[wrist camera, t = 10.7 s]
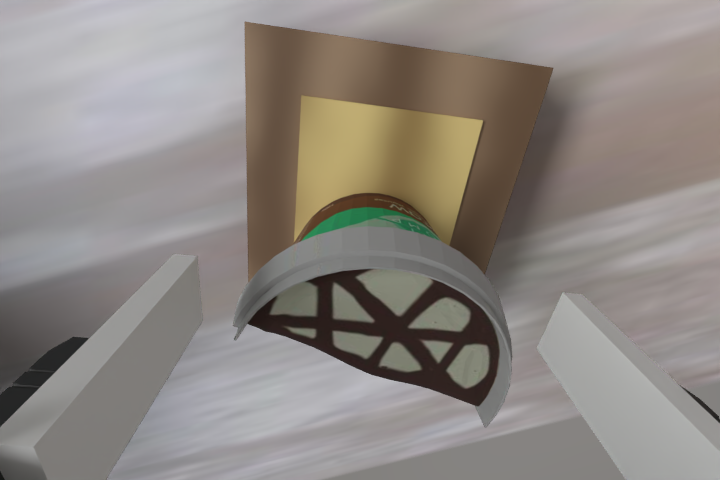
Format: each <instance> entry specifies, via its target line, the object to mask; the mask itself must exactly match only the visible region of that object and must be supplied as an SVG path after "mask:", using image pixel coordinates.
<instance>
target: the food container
mask: <svg viewBox="0 0 720 480" xmlns="http://www.w3.org/2000/svg"><path fill="white" fill-rule="evenodd" d="M246 324H249V325H252V326H255V327H257V328H260V329H262V330H264V331H266V332H271V333H276V334H279V335H282V336H286V337H288V338H291V339H294V340H296V341H299V342H301V343H304V344H307V345H309V346H312V347H314V348H316V349H319V350H321V351H323V352H325V353H327V354H329V355H331V356H333V357H335V358H337V359H339V360H341V361H343V362H345V363H347V364H349V365H351V366H353V367H355V368H357V369H360V370H362V371H364V372H366V373H369V374H371V375H374V376H379V377H382V378H386V379H390V380H394V381H399V382H404V383H409V384H413V385H417V386H421V387H425V388H429V389H431V390H434V391H437V392H440V393H443V394H445V395H448V396H451V397H454V398H456V399H459V400H462V401H464V402H467V403H470V404H472V405H475V407H476V409H477V411H478V414H479V416H480V418H481V420H482V422H483V425H484V427H487V426H488V425H489V423H490V422H491V421H492V420H493V419H494V417H495V416H496V415H497V413H498V411H499V410H500V408H501V406H502V404H503V403H504V401H505V398H506V395H507V392H508V389H509V387H510V380H511V372H512V367H511V361H512V348H511V338H510V335H509V331H508V327H507V323H506V320H505V316H504V312H503V309H502V306H501V303H500V299H499V297H498V295H497V293H496V291H495V290H494V288H493V286H492V284H491V282H490V281H489V279H488V278H487V277H486V276H485V275H484V274H483V272H482V271H481V270H480V269H479V268H478V266H477V265H475V264H474V263H473V262H472V261H471V260H469V259H468V258H467V257H466V256H464V255H463V254H462V253H461V252H459V251H457V250H456V249H454V248H452V247H450V246H449V245H447V244H445V243H443V242H442V241H441V240H440V238H439V237H438V236H437V234H436V233H435V232H434V230H433V229H432V227H431V226H430V225H429V223H428V222H427V220H426V219H425V218H424V217H423V216H422V215H421V214H420V213H419V212H418V211H417V210H416V209H415V208H413V207H412V206H411V205H409V204H408V203H406V202H404V201H403V200H401V199H398V198H395V197H393V196H390V195H385V194H380V193H359V194H353V195H349V196H345V197H342V198H340V199H337V200H335V201H333V202H331V203H329V204H328V205H326V206H325V207H323V208H322V209H320V210H319V211H318V212H317V213H316V214H315V215H314V216H313V217H312V218H311V219H310V220H309V221H308V223H307V224H306V225H305V227H304V228H303V230H302V231H301V233H300V234H299V236H298V237H297V239H296V240H295V242H294V243H293V245H292V246H291V247H289V248H287V249H286V250H284V251H282V252H281V253H279V254H278V255H276V256H274V257H273V258H272V259H271V260H270V261H269V262H268V263H266V264H265V265H264V266H263V267H262V268H261V269H259V270H258V272H257V273H256V274H255V275H254V277H253V278H252V279H251V280H250V282H249V283H248V284H247V285H246V287H245V288H244V290H243V292H242V294H241V296H240V298H239V300H238V302H237V306H236V312H235V317H234V322H233V326H235V327H238V330H237V333H236V336H235V338H234V340H237V338H238V337H239V335H240V334H241V332H242V331H243V329H244V327H245V326H246Z"/></svg>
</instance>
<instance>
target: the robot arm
mask: <svg viewBox="0 0 720 480" xmlns="http://www.w3.org/2000/svg"><path fill="white" fill-rule="evenodd" d="M202 321H203V316H202V304H201V292H200V281H199V269H198V257H197V256H192V255H182V254H173V255H172V256H171V257H170V258H169V259H168V260H167V261H166V262H165V263H164V264H163V265H162V266H161V267H160V268H159V269H158V270H157V271H156V272H155V273H154V274H153V275H152V276H151V277H150V278H149V279H148V280H147V281H146V282H145V283H144V284H143V285H142V286H141V287H140V288H139V289H138V290H137V291H136V292H135V293H134V294H133V295H132V296H131V297H130V298H129V299H128V300H127V301H126V302H125V303H124V304H123V305H122V306H121V307H120V308H119V309H118V310H117V311H116V312H115V313H114V314H113V315H112V316H111V317H110V318H109V319H108V320H107V321H106V322H105V323H104V324H103V325H102V326H101V327H100V328H99V329H98V330H97V331H96V332H95V333H94V334H93V335H92V336H91V337H90V338H81V337H73V338H71V339H69V340H67V341H65V342H64V343H62V344H60V345H58V346H57V347H55V348H53V349H51V350H50V351H48V352H47V353H46V354H45V355H44V356H43V357H42V358H40V359H39V360H38V361H37V362H36V363H35V364H34V365H33V366H32V367H31V368H30V370H29V372H25V373H24V374H23V375H22V376H21V377H19V378H18V379H17V380H16V381H15V382H14V383H13V386H12V387H8V388H7V389H6V390H5V391H4V392H3V393H2V394H1V395H0V480H106V479H107V477H108V476H109V474H110V472H111V471H112V469H113V467H114V466H115V464H116V462H117V461H118V459H119V457H120V456H121V454H122V453H123V451H124V449H125V448H126V446H127V444H128V443H129V441H130V439H131V438H132V436H133V435H134V433H135V431H136V430H137V428H138V426H139V425H140V423H141V421H142V420H143V418H144V416H145V415H146V413H147V412H148V410H149V408H150V407H151V405H152V403H153V402H154V400H155V398H156V397H157V395H158V393H159V392H160V390H161V389H162V387H163V385H164V384H165V382H166V380H167V379H168V377H169V375H170V374H171V372H172V370H173V369H174V367H175V366H176V364H177V362H178V361H179V359H180V357H181V356H182V354H183V352H184V351H185V349H186V347H187V346H188V344H189V343H190V341H191V339H192V338H193V336H194V334H195V333H196V331H197V329H198V328H199V326H200V325H201V323H202ZM537 350H538V352H539V353H540V355H541V356H542V358H543V359H544V361H545V362H546V363H547V365H548V366H549V368H550V369H551V371H552V372H553V374H554V375H555V377H556V378H557V380H558V381H559V382H560V384H561V385H562V387H563V388H564V390H565V391H566V393H567V394H568V396H569V397H570V399H571V400H572V402H573V403H574V404H575V406H576V407H577V409H578V410H579V412H580V413H581V415H582V416H583V418H584V419H585V421H586V422H587V423H588V425H589V426H590V428H591V429H592V431H593V432H594V434H595V435H596V437H597V438H598V440H599V441H600V443H601V444H602V445H603V447H604V448H605V450H606V451H607V453H608V454H609V456H610V457H611V458H612V460H613V461H614V463H615V464H616V466H617V467H618V469H619V470H620V472H621V473H622V475H623V476H624V478H625V479H626V480H720V419H719V416H718V415H717V414H716V413H714V412H713V411H712V410H711V409H710V408H709V407H708V406H707V405H706V404H705V403H703V401H701V400H700V399H699V398H698V397H696V396H695V395H693V394H692V393H690V392H689V391H687V390H686V389H684V388H683V387H681V386H680V385H679V384H677V383H676V382H675V381H674V380H673V379H672V378H671V377H670V376H669V375H668V374H667V373H666V372H665V371H663V370H662V369H661V368H660V367H659V366H658V365H657V364H656V363H655V362H654V361H653V360H652V359H651V358H650V357H649V356H647V355H646V354H645V353H644V352H643V351H642V350H641V349H640V348H639V347H638V346H637V345H636V344H635V343H634V342H633V341H631V340H630V339H629V338H628V337H627V336H626V335H625V334H624V333H623V332H622V331H621V330H620V329H619V328H618V327H617V326H615V325H614V324H613V323H612V322H611V321H610V320H609V319H608V318H607V317H606V316H605V315H604V314H603V313H602V312H601V311H600V310H598V309H597V308H596V307H595V306H594V305H593V304H592V303H591V302H590V301H589V300H588V299H587V298H586V297H585V296H584V295H582V294H576V293H566V292H562V294H561V297H560V299H559V301H558V303H557V305H556V308H555V310H554V312H553V314H552V316H551V318H550V321H549V323H548V325H547V327H546V329H545V332H544V334H543V336H542V338H541V340H540V343H539V345H538V347H537Z"/></svg>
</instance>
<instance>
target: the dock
mask: <svg viewBox="0 0 720 480" xmlns="http://www.w3.org/2000/svg"><path fill="white" fill-rule="evenodd" d="M552 71H553V68H550V67H544V66H537V65H530V64H524V63H517V62H510V61H504V60H497V59H490V58H484V57H477V56H470V55H464V54H457V53H450V52H444V51H437V50H430V49H424V48H417V47H410V46H404V45H397V44H390V43H384V42H377V41H370V40H364V39H357V38H350V37H344V36H337V35H330V34H324V33H317V32H310V31H304V30H297V29H290V28H284V27H277V26H270V25H264V24H257V23H250V22H245V79H246V148H247V217H248V283H249V282H250V280H251V279H252V278H253V277H254V275H255V274H256V273H257V272H258V270H259V269H261V268H262V267H263V266H264V265H265V264H266V263H268V262H269V261H270V260H271V259H272V258H273V257H274V256H276V255H278V254H279V253H281V252H282V251H284V250H286V249H287V248H289V247H291V246H292V245H293V243H294V242H295V240H296V239H297V237H298V236H299V234H300V233H301V231H302V230H303V228H304V227H305V225H306V224H307V223H308V221H309V220H310V219H311V218H312V217H313V216H314V215H315V214H316V213H317V212H318V211H319V210H320V209H322V208H323V207H325V206H326V205H328V204H329V203H331V202H333V201H335V200H337V199H340V198H342V197H345V196H349V195H353V194H359V193H380V194H385V195H390V196H393V197H395V198H398V199H401V200H403V201H404V202H406V203H408V204H409V205H411V206H412V207H413V208H415V209H416V210H417V211H418V212H419V213H420V214H421V215H422V216H423V217H424V218H425V219H426V220H427V222H428V223H429V225H430V226H431V227H432V229H433V230H434V232H435V233H436V234H437V236H438V237H439V238H440V240H441V241H442V242H443V243H445V244H447V245H449V246H450V247H452V248H454V249H456V250H457V251H459V252H461V253H462V254H463V255H464V256H466V257H467V258H468V259H469V260H471V261H472V262H473V263H474V264H475V265H477V266H478V268H479V269H480V270H481V271H482V272H483V274H484V275H485V272H486V269H487V266H488V263H489V260H490V257H491V254H492V251H493V248H494V245H495V242H496V239H497V236H498V233H499V230H500V227H501V224H502V221H503V218H504V215H505V212H506V209H507V206H508V203H509V200H510V197H511V194H512V191H513V188H514V185H515V182H516V179H517V176H518V173H519V170H520V167H521V164H522V161H523V158H524V155H525V152H526V149H527V146H528V143H529V140H530V137H531V134H532V131H533V128H534V125H535V122H536V119H537V116H538V113H539V110H540V107H541V104H542V101H543V98H544V95H545V92H546V89H547V86H548V83H549V80H550V77H551V74H552Z"/></svg>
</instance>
